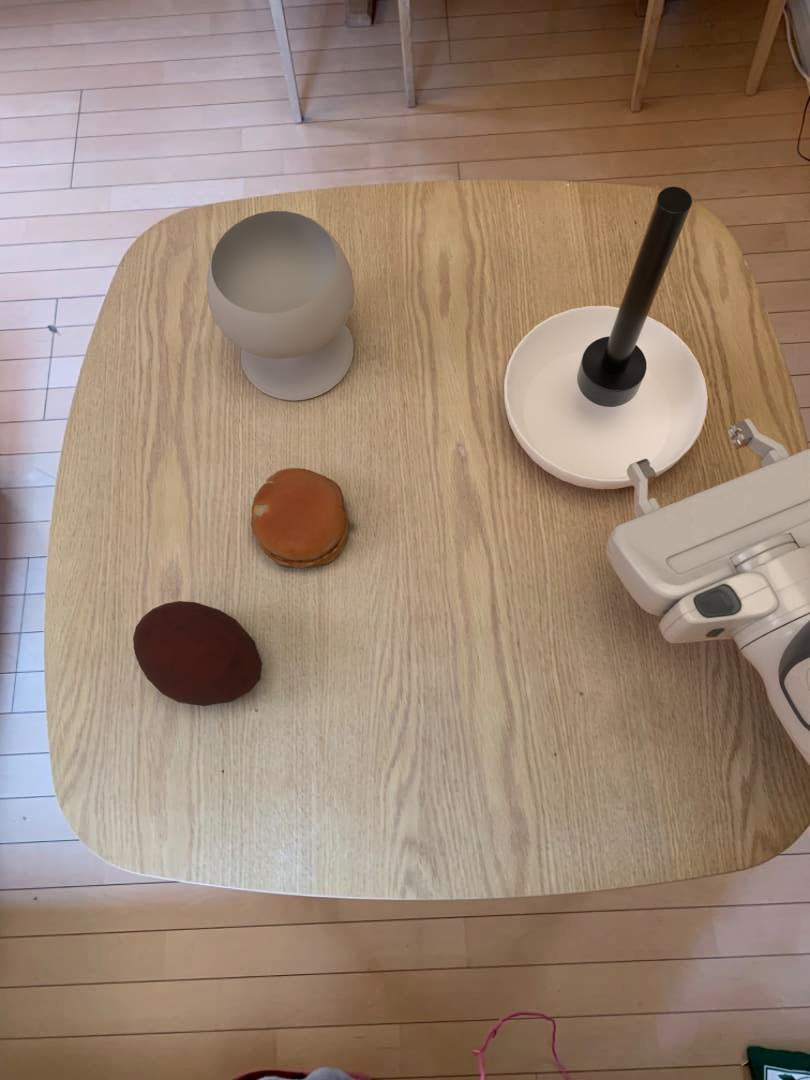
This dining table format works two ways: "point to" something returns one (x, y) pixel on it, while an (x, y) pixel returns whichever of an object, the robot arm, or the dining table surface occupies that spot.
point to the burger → (300, 518)
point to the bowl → (587, 428)
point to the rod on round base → (634, 309)
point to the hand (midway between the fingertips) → (686, 444)
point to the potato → (196, 654)
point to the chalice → (284, 303)
